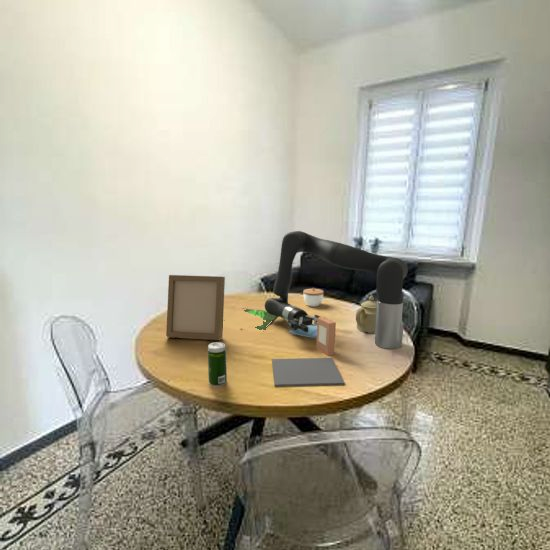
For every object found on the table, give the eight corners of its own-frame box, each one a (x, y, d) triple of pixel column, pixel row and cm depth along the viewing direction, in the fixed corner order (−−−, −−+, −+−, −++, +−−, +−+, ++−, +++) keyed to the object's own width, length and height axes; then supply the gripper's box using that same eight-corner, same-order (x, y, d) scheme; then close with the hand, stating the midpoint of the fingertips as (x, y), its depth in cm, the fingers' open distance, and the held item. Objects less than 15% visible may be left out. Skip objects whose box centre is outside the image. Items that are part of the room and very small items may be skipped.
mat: (332, 359, 120) (332, 357, 120) (344, 384, 103) (344, 382, 103) (271, 360, 118) (271, 359, 118) (274, 386, 102) (274, 384, 102)
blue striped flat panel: (315, 339, 138) (315, 336, 138) (288, 334, 144) (288, 331, 144) (327, 329, 150) (327, 326, 149) (302, 324, 155) (302, 321, 155)
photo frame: (219, 342, 134) (217, 279, 129) (166, 339, 137) (162, 277, 132) (229, 329, 148) (228, 272, 143) (181, 326, 151) (178, 270, 146)
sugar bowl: (381, 338, 139) (384, 302, 136) (354, 334, 142) (355, 299, 139) (383, 326, 152) (385, 293, 149) (357, 323, 156) (359, 291, 153)
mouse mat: (263, 333, 144) (263, 331, 144) (215, 327, 150) (215, 325, 150) (281, 313, 170) (281, 311, 170) (239, 309, 176) (239, 307, 176)
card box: (323, 346, 130) (324, 316, 128) (334, 353, 124) (335, 322, 122) (316, 348, 129) (317, 317, 126) (327, 355, 123) (328, 323, 120)
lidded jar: (312, 301, 191) (313, 284, 189) (327, 305, 183) (328, 288, 181) (298, 304, 184) (299, 287, 182) (313, 309, 176) (313, 291, 174)
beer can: (230, 382, 104) (229, 345, 102) (216, 389, 100) (214, 350, 98) (219, 376, 108) (218, 340, 105) (205, 382, 104) (203, 345, 101)
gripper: (279, 309, 140) (301, 321, 126) (309, 305, 147) (332, 315, 132) (279, 327, 141) (300, 340, 127) (308, 321, 148) (331, 334, 134)
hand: (317, 328), depth 130 cm, fingers open, 8 cm apart
